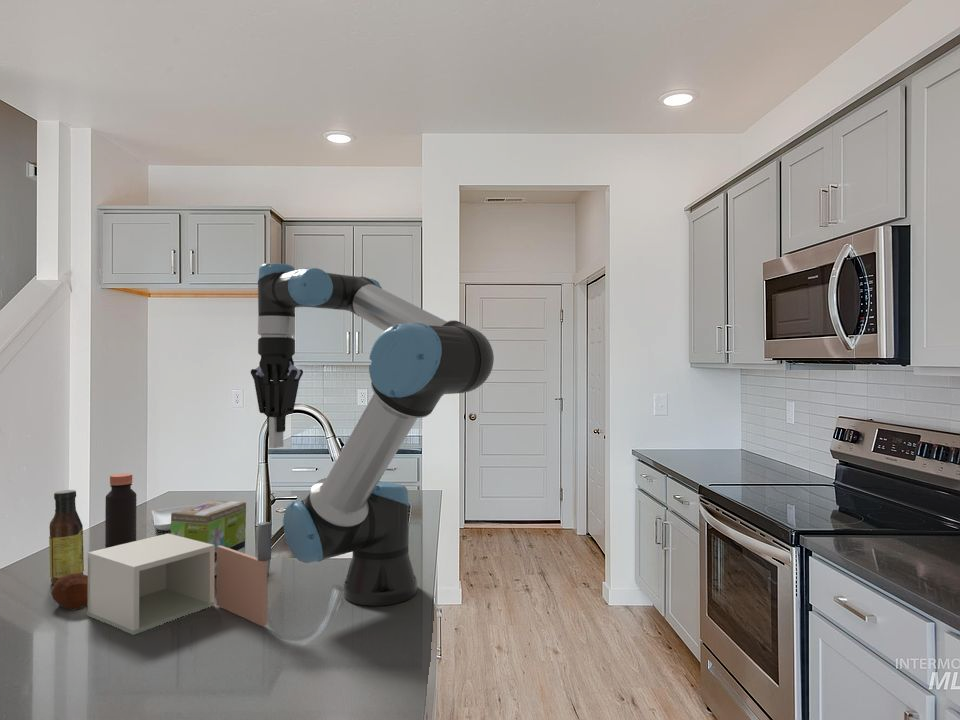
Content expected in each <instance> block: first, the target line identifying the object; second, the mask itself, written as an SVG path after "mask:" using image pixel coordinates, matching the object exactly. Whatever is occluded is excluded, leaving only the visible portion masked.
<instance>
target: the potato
mask: <svg viewBox="0 0 960 720" xmlns="http://www.w3.org/2000/svg"><path fill="white" fill-rule="evenodd" d="M51 596H52V597H51V598H52V599H53V600H54V602H56V603H57V604H58V605H59V606H61V607H63V608H64V609H67V610H73V609H74V610H79V609H81V608H84V607H86V606H88V574H87V575H86V574H84V573H83V574H81V573H76V574H69V575H66V576H63V577H61V578H60V579H58V580H57V581H56V583H55V584H54V585H53V586H52V590H51Z"/></svg>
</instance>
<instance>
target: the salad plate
mask: <svg viewBox="0 0 960 720" xmlns="http://www.w3.org/2000/svg"><path fill="white" fill-rule="evenodd" d="M195 505H196V504H195ZM195 505H193V504H191V505H185V506H177V507H170V508H161V509H154V510H151V515H152V517H153V526H154V527H155V528H156V529H157V530H159V531H165V532H171V513H173V512H176V511H180V510H183V509H186V508H189V507H192V506H195Z"/></svg>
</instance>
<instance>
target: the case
mask: <svg viewBox="0 0 960 720" xmlns="http://www.w3.org/2000/svg"><path fill="white" fill-rule="evenodd" d="M214 552H215V545H212V544H208V543H204V542H200V541H196V540H192V539H188V538H184V537H180V536H176V535H172V534H171V533H165V534H159V535H156V536H152V537H147V538H142V539H139V540H136V541H134V542H130V543H126V544H121V545H117V546H113V547H109V548H102V549H101V548H100V549H97V550H93V551H88V552H87V576H88V604H87V617H90V618H93V619H94V618H95V620H97V621H99V620H100V621H99V622H101V623H104V622H105V623H104V624H106V623H107V625H109V624H110V625H109V626H111V625H112V626H111V627H113V626H115V627H114V628H116V627H117V628H116V629H118V628H119V629H118V630H120V629H121V631H123V632H125V633H128V634H130V635H133V636H134V635H137V634H140V633H143V632H145V631H148V629H149V630H151V629H154V628H157V627H159V625H160V626H162V625H165V624H167V623H166V622H168V623H170V622H169V621H171V622H173V621H176V620H178V619H177V618H179V619H181V618H180V617H182V616H184V617H186V616H185V615H187V616H189V615H188V614H190V615H192V614H191V613H193V614H195V613H198V612H201V611H203V610H202V609H204V610H206V609H208V607H209V608H211V607H210V606H212V607H214V606H215V576H214ZM205 608H206V609H205ZM200 610H201V611H200ZM197 611H198V612H197ZM194 612H195V613H194ZM182 618H183V617H182ZM175 619H176V620H175ZM172 620H173V621H172ZM164 623H165V624H164ZM156 626H157V627H156Z"/></svg>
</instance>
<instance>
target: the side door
mask: <svg viewBox="0 0 960 720" xmlns="http://www.w3.org/2000/svg"><path fill="white" fill-rule="evenodd" d="M256 541H257V547H256V548H257V551H256V552H257V553H256V554H257V556H253V555H250V554H247V553H246V552H245V553H242V552H239V551H236V550H233V549H230V548H227V547H224V546H221V545H220V546H217V575H216V606H218V607H220V608H222V609H225V610H227V611H229V612H230V613H233V614H235V615H237V616H239V617H242V618H244V619H246V620H248V621H251V622H252V623H254V624H257V625H258V626H260V627H266V626H267V625H268V561H270V560H271V559H272V522H269V521H263V522H259V523H257V540H256Z"/></svg>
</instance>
